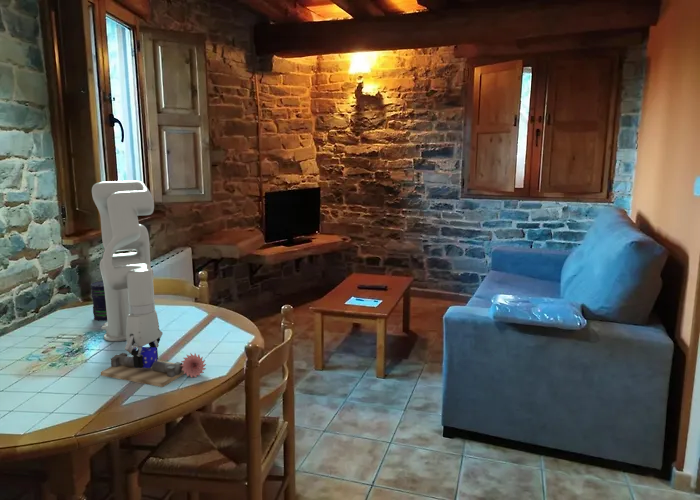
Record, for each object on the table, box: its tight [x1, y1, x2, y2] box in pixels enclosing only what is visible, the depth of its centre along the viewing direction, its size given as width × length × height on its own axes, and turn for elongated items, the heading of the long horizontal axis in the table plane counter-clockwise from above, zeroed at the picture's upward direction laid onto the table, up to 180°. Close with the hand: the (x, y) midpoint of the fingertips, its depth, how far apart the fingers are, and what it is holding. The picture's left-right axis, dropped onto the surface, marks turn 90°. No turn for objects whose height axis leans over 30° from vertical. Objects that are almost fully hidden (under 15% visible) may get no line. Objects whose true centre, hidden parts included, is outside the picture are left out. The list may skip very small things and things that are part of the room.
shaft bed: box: [100, 352, 185, 388], centre depth 170 cm, size 25×14×4 cm, turn 69°
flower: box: [181, 352, 207, 378], centre depth 168 cm, size 8×8×6 cm
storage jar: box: [90, 280, 107, 322], centre depth 226 cm, size 10×10×15 cm
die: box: [136, 346, 158, 368], centre depth 169 cm, size 5×5×5 cm
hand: (146, 362), depth 170 cm, fingers closed on die, 5 cm apart
